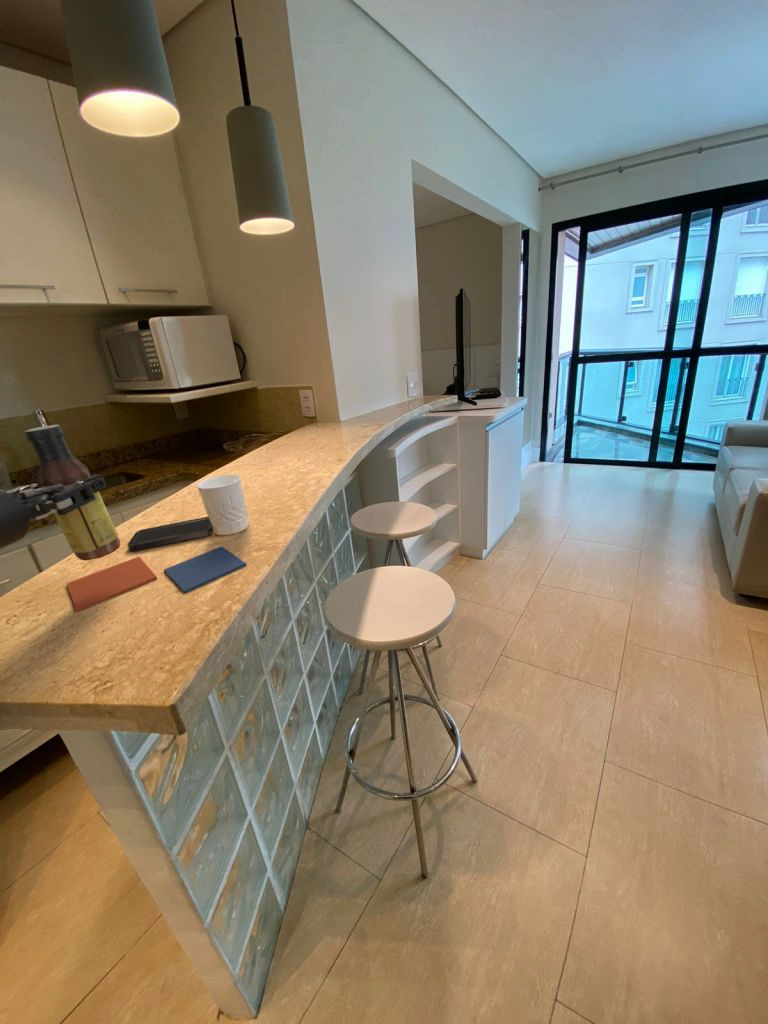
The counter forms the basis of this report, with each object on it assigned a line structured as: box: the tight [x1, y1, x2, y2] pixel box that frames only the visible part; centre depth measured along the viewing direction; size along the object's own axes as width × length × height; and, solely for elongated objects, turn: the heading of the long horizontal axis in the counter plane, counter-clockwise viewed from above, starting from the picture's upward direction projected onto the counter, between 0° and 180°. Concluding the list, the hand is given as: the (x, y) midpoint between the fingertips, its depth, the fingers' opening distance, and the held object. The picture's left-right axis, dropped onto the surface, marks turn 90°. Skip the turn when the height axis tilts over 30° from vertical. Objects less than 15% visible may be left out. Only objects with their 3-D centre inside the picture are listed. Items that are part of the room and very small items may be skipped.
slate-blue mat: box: [163, 545, 247, 594], centre depth 67 cm, size 10×10×1 cm
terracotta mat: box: [66, 556, 158, 613], centre depth 66 cm, size 11×11×1 cm
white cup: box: [196, 474, 250, 536], centre depth 80 cm, size 8×8×10 cm
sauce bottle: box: [24, 424, 121, 561], centre depth 60 cm, size 6×6×20 cm
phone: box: [127, 516, 214, 552], centre depth 81 cm, size 8×1×15 cm
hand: (83, 481), depth 62 cm, fingers closed on sauce bottle, 6 cm apart
